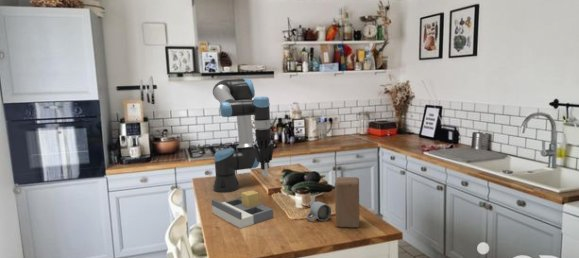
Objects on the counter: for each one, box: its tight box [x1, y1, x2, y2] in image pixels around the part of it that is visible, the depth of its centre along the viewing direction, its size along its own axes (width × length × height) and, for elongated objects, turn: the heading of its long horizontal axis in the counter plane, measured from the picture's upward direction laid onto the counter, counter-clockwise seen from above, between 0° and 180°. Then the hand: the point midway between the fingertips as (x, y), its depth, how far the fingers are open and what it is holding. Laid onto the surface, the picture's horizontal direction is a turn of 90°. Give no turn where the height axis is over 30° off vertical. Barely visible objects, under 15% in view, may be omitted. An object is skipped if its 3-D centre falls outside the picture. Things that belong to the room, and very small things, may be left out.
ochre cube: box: [240, 189, 260, 208], centre depth 186 cm, size 6×6×6 cm
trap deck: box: [211, 197, 274, 229], centre depth 184 cm, size 18×26×7 cm
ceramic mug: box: [305, 201, 332, 222], centre depth 176 cm, size 11×8×8 cm
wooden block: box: [334, 176, 360, 228], centre depth 168 cm, size 10×10×20 cm
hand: (265, 175), depth 191 cm, fingers closed
